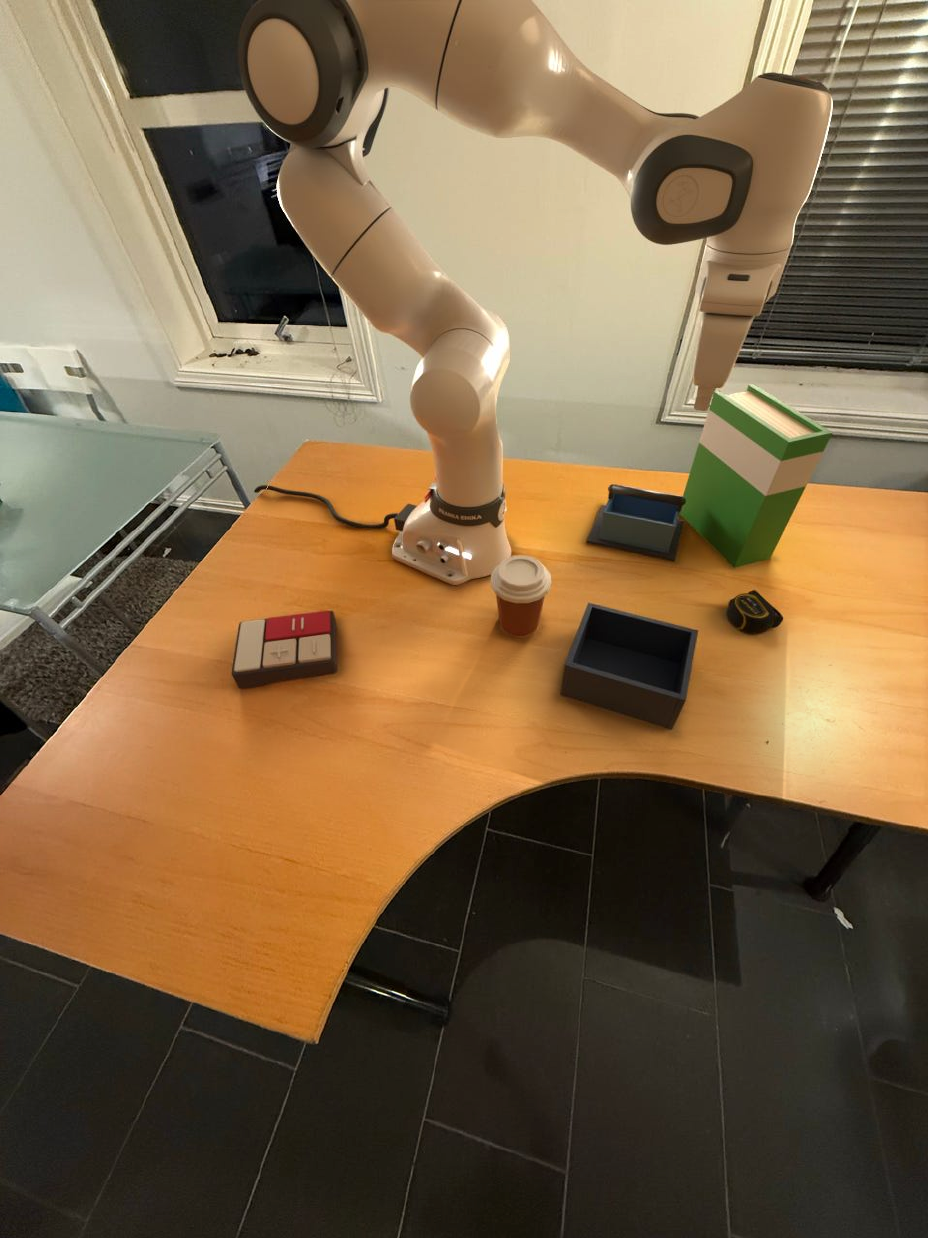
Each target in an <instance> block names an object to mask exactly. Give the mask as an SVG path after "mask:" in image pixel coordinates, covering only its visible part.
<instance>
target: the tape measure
mask: <svg viewBox="0 0 928 1238" xmlns="http://www.w3.org/2000/svg"><path fill="white" fill-rule="evenodd" d="M725 614H726V617H727V620H728V622H729V623H730V624H731V625H732V626H733V627H734V628H736V629H738V630H739V631H741V632H743V633H746V634H751V635H758V634H763V633H765V632H767V631H768V630H770V629H771V630H772V629H775V628H778V627H779V626H780V625H782V623H783V622H784V621H783V620H784V616H783V614H782V613H781V612H780V611H779V610H778V609H776V607H774V606H773V605H772V604H771V603H770V602H769V601H768V600H766V598H764V597H763V595H761V593H760V592H759V591H757V590H756V589H752V590H750V591H748V592H743V593H739V594H737V595H736V596H734V597H732V598H730V599H729V601H728V607H727V609H726V613H725Z"/></svg>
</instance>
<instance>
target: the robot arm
mask: <svg viewBox="0 0 928 1238" xmlns="http://www.w3.org/2000/svg"><path fill="white" fill-rule="evenodd" d="M237 58H238V68H239V73H240V77H241V81H242V86H243V88H244V91H245V94H246V96H247V98H248V100H249V102H250V104H251V106H252V108H253V110H254V111H255V112H256V114H257V116H258V117H259V119H260V120H261V121H262V122H263V124H264V125H265V126H266V127H267V128H268V129H269V130H270V131H271V132H272V133H274V134H275V135H276V136H278V137H279V138H280V139H282V140H283V141H285V142H287V143H289V144H290V145H289V149H288V151H289V152H288V154H287V155H286V157H284V160H283V162H282V164H281V166H280V169H279V173H278V178H277V183H276V190H277V191H276V192H277V193H276V194H277V198H278V201H279V205H280V207H281V209H282V211H283V212H284V214H285V216H286V218H287V219H288V221H289V222H290V224H291V226H292V227H293V229H294V230H295V231H296V233H297V235H298V236H299V238H300V239H301V241H302V242H303V243H304V245H305V247H306V248H307V249H308V251H309V252H310V254H311V255H312V256H313V257H314V259H315V260H316V261H317V262H318V264H319V265H320V267H321V268H322V269H323V270H324V271H325V272H326V274H327V275H328V276H329V277H330V278H331V280H332V281H333V282H334V283H335V284H336V285H337V286H338V289H340V290H341V291H342V293H344V295H345V296H346V297H347V298H348V300H349V301H350V302H351V303H352V304H353V305H354V306H355V308H356V309H357V310H358V311H359V312H360V313H361V314H362V316H363V317H364V318H365V319H366V320H367V321H368V322H369V324H370V325H371V326H372V327H373V328H374V329H376V330H377V332H380V333H382V334H386V335H390V336H392V337H394V338H397V339H398V340H399V341H401V342H402V343H404V344H405V345H407V346H408V347H410V348H411V349H412V350H413V351H415V352H416V353H417V354H418V355H419V356H420V357H422V358H421V360H420V361H419V363H418V364H417V366H416V368H415V372H414V375H413V378H412V382H411V387H410V394H409V404H410V410H411V412H412V415H413V417H414V419H415V421H416V422H417V423H418V425H419V427H421V428H422V429H423V430H424V431H425V432H426V434H427V436H428V440H429V442H430V446H431V449H432V450H431V451H432V456H433V463H434V473H435V477H434V482H432V483H431V484H430V486H429V487H428V491H427V492H426V493H425V495H424V497H423V499H424V501H422V502H420V503H419V504H418V505H417V504H411V503H407V504H406V505H405V506H404V507H403V508H402V509H401V511H399V512H392V513H388V514H386V515H385V516H384V518H383V522H381V523H376V524H367V523H360V522H356V521H353V520H350V519H347V518H344V517H342V516H340V515H339V513H337V511H336V509H335V508H334V506H333V504H332V503H331V502H330V501H329V499H327V498H325V497H324V496H323V495H320V494H316V493H312V492H307V491H300V490H292V489H291V490H290V489H286V488H285V489H284V488H281V487H277V486H274V485H269V484H261V485H258V486H257V487H255V489H254V490H253V492H254V493H256V494H257V493H260V492H261V491H263V490H264V491H265V490H267V491H272V492H275V493H280V494H284V495H288V496H297V497H298V496H299V497H305V498H311V499H316V500H318V501H320V502H322V503H323V504H324V505H326V507H327V509H328V511H329V513H330V514H331V516H332V517H333V518H334V519H335V520H337V521H338V522H340V523H342V524H345V525H347V526H350V527H353V528H358V529H375V530H376V529H378V530H381V529H385V528H386V527H388V526H389V524H390V520H392V519H393V522H394V525H395V526H394V527H395V531H399V533H398V535H397V536H396V538H395V540H394V542H393V544H392V548H391V551H392V558H393V559H394V560H395V561H397V562H399V563H401V564H404V565H406V566H408V567H411V568H413V569H415V570H418V571H420V572H421V573H424V574H426V575H429V576H431V577H433V578H435V579H438V580H440V581H442V582H444V583H447V584H449V585H451V586H459V585H462V584H464V583H466V582H468V581H470V580H474V579H479V578H484V577H488V576H491V574H492V573H493V571H494V569H495V568H496V567H497V566H498V565H500V563H501V562H502V561H503V560H505V559H506V558H508V557H512V547H511V544H510V542H509V539H508V535H507V529H506V524H505V523H506V522H505V517H506V512H507V500H506V499H507V498H506V486H505V483H504V445H503V440H502V439H501V438H500V433H499V428H498V421H497V401H498V396H499V391H500V387H501V384H502V382H503V379H504V377H505V375H506V372H507V370H508V367H509V364H510V359H511V343H510V335H509V331H508V328H507V326H506V324H505V322H504V321H503V320H502V318H501V317H500V316H499V315H497V314H496V313H495V312H494V311H491V310H490V309H487V308H484V307H482V306H481V305H480V304H478V302H477V301H476V300H475V299H474V298H473V297H471V296H470V295H469V294H468V293H467V292H466V291H465V290H464V289H462V287H460V285H458V284H457V283H456V282H455V281H454V280H453V279H452V278H451V277H449V275H447V273H445V271H444V270H442V269H441V267H440V266H439V265H438V264H437V263H436V262H435V261H434V260H433V258H432V257H431V256H430V254H429V253H428V252H427V251H426V249H425V248H424V246H423V245H422V244H421V243H420V242H419V240H418V239H417V237H416V236H415V235H414V233H413V232H412V231H411V230H410V228H409V227H408V225H407V224H406V223H405V222H404V220H403V219H402V218H401V216H400V215H399V214H398V213H397V211H396V210H395V208H394V207H393V206H392V204H391V203H390V202H389V201H388V200H387V198H386V197H385V195H384V194H383V193H382V192H381V190H380V189H379V187H377V185H376V183H375V182H374V181H373V179H372V177H371V176H370V174H369V172H368V170H367V168H366V165H365V161H364V158H365V157H367V156H368V155H369V154H370V152H371V149H372V147H373V145H374V141H375V138H376V135H377V132H378V129H379V126H380V123H381V121H382V119H383V116H384V114H385V113H384V112H385V110H386V107H387V104H388V99H389V94H390V88H397V89H400V90H403V91H405V92H408V93H409V94H411V95H413V96H415V97H416V98H418V99H419V100H421V101H423V103H425V104H427V105H429V106H430V107H432V108H433V109H435V110H436V111H438V112H439V113H440V114H443V115H444V116H445V117H447V118H449V119H451V120H452V121H453V122H456V123H458V124H460V125H462V126H463V127H466V128H469V129H471V130H473V131H475V132H478V133H481V134H484V135H487V136H489V137H493V138H496V139H512V138H522V137H537V138H545V139H548V140H549V139H550V140H552V141H556V142H558V143H560V144H562V145H564V146H566V147H567V148H569V149H571V150H573V151H574V152H576V153H577V154H579V155H581V156H582V157H584V158H586V159H587V160H589V161H590V162H592V163H594V164H595V165H597V166H598V167H600V168H602V169H603V170H605V171H606V172H608V173H609V174H611V175H613V176H614V177H615V178H617V179H618V181H619V182H620V183H621V184H622V186H623V187H624V189H625V190H626V193H627V194H628V196H629V201H630V212H631V216H632V221H633V223H634V225H635V227H636V229H637V230H638V232H639V233H640V234H641V236H642V237H644V238H645V239H646V240H648V241H650V242H652V243H654V244H657V245H662V246H671V245H678V244H683V243H689V242H694V241H699V240H703V239H706V242H705V247H704V251H703V255H702V260H701V262H700V267H699V272H698V276H697V280H696V284H695V291H696V293H697V295H698V298H699V302H698V312H700V313H701V316H700V317H701V318H700V326H699V332H698V339H697V342H696V343H697V344H696V350H695V355H694V356H695V357H694V362H693V370H692V384H693V385H694V386H697V390H696V397H695V400H694V405H693V409H694V410H696V411H701V412H707V411H709V408H710V404H711V401H712V398H713V394H714V392H715V391H716V389H721V388H723V387H724V386H725V385H726V383H727V382H728V379H729V377H730V376H731V373H732V371H733V369H734V366H735V365H736V362H737V360H738V357H739V355H740V352H741V350H742V347H743V346H744V342H745V340H746V339H747V335H748V334H749V331H750V329H751V327H752V324H753V321H754V319H755V317H759V316H760V315H762V312H763V310H764V307H765V305H766V303H767V302H768V301H769V300H770V298H772V297H774V296H775V295H776V293H777V290H778V288H779V284H780V281H781V278H782V275H783V272H784V269H785V266H786V264H787V261H788V257H789V256H790V255H789V254H790V251H791V248H792V246H793V242H794V236H795V228H796V227H795V226H796V222H797V219H798V216H799V214H800V211H801V210H802V208H803V206H804V205H805V203H806V201H807V200H808V197H809V195H810V193H811V190H812V187H813V184H814V181H815V178H816V175H817V171H818V168H819V166H820V162H821V157H822V154H823V151H824V147H825V145H826V140H827V137H828V133H829V127H830V123H831V119H832V112H833V97H832V95H831V92H830V90H829V89H828V87H827V86H826V85H825V84H823V83H822V82H821V81H818V80H814V79H810V78H806V77H802V76H796V75H792V74H786V73H779V72H776V71H775V72H774V71H773V72H764V73H762V74H759V75H757V76H755V77H754V79H753V80H752V81H751V82H750V83H749V84H748V85H747V86H745V87H744V88H743V89H742V90H740V91H739V92H738V93H736V94H735V95H733V96H732V97H730V98H729V99H728V100H726V101H725V102H724V103H721V104H719V106H717V107H715V108H713V109H711V110H710V111H708V112H706V113H705V114H703V115H701V116H698V115H697V114H693V113H685V112H671V113H669V112H668V113H667V112H663V113H662V112H656V111H653V110H651V109H649V108H646V107H645V106H643V105H642V104H640V103H639V102H637V101H636V100H635V99H633V98H632V97H630V96H628V95H626V94H625V93H624V92H622V91H621V90H619V89H618V88H616V87H615V86H613V85H612V84H610V83H609V82H607V81H606V80H604V79H603V78H602V77H600V76H598V75H597V74H596V73H594V72H593V71H592V70H590V69H589V68H588V67H587V66H586V65H585V64H584V63H583V62H582V61H581V60H580V59H579V58H578V57H577V55H575V53H574V52H573V51H572V50H571V49H570V47H569V46H568V45H567V43H566V42H565V41H564V39H563V38H562V36H561V35H560V34H559V32H558V31H557V29H556V28H555V27H554V26H553V24H552V23H551V22H550V20H549V19H548V18H547V17H546V16H545V14H544V13H543V12H542V11H541V9H540V8H539V7H538V6H537V4H536V3H535V2H534V1H533V0H257V1H256V2H255V3H254V4H253V5H252V6H251V7H250V8H249V11H248V12H247V13H246V15H245V17H244V19H243V21H242V24H241V27H240V30H239V36H238V44H237ZM268 485H269V486H268ZM267 486H268V488H267ZM266 488H267V489H266Z"/></svg>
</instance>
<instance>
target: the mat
mask: <svg viewBox="0 0 928 1238" xmlns="http://www.w3.org/2000/svg"><path fill="white" fill-rule="evenodd" d="M605 507H606V505H603V504H601V506H600V507H599V511H598V513H597V515H596V517H595V520H594V522H593V525H592V527H591V529H590V532H589V534H588V536H587V539H586V544H591V545H594V546H599V547H602V548H603V547H604V548H609V549H614V550H618V551H621V552H626V553H632V554H636V555H641V556H644V557H650V558H654V559H658V560H663V561H668V562H671V563H674V562H675V561H676V558H677V554H678V550H679V549H678V548H679V546H680V545H679V544H680V541H681V537H682V533H683V530H684V529H683V528H684V524H685V520H681V519H678V521H677V525H676V528H675V531H674V535H673V538H672V541H671V545H670V548H669V551H668V553H665V552H660V551H655V550H650V549H646V548H641V547H636V546H632V545H627V544H622V543H617V542H613V541H608V540H603V539H599V534H600V528H601V522H602V517H603V512H604V509H605Z"/></svg>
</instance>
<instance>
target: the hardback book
mask: <svg viewBox="0 0 928 1238" xmlns="http://www.w3.org/2000/svg"><path fill="white" fill-rule="evenodd" d="M833 434H834V432H833V431H831V429H828V428H827V427H825V426H823V425H822V424H820V423H819V422H817V421H815V420H813V419H812V418H810V417H809V416H807V415H805V414H803V413H802V412H800V411H799V410H797V409H796V408H794V407H792V406H790V405H789V404H788V403H786V402H784V401H782V400H781V399H779V398H778V397H776V396H774V395H773V394H771V393H770V392H768V391H766V390H764V389H763V388H761V387H760V386H758V385H756V384H755V383H750V384H748V385H747V389H746V390H745V391H744V390H743V391H740V392H735V393H730V394H725V393H723V392H722V391H720V390H715V392H714V394H713V396H712V399H711V402H710V405H709V408H708V410H707V414H706V418H705V421H704V425H703V428H702V430H701V434H700V437H699V441H698V444H697V447H696V451H695V454H694V458H693V461H692V465H691V468H690V471H689V474H688V478H687V481H686V484H685V488H684V491H683V495H682V496H683V497H684V498H685V499H686V503H685V504H684V505H683V506H682V509H681V512H680V513H679V515H681V517H682V518H683V519H684V520H686V522H687V523H688V524H689V525H690V526H691V527H692V528H693V529H694V530H695V531H696V532H697V533H698V534H699V535H700V536H701V537H702V538H703V539H704V540H705V541H706V542H707V543H708V544H709V545H710V546H711V547H712V548H713V549H714V550H715V551H716V552H717V553H718V554H719V555H720V556H721V557H722V558H723V559H724V560H725V561H726V562H727V563H728V564H729V565H730V566H731V567H732V568H733V569H737V568H740V567H744V566H748V565H752V564H756V563H758V562H762V561H767V560H770V559H771V558H772V557H773V554H774V552H775V550H776V549H777V546H778V544H779V542H780V540H781V537H782V535H783V534H784V532H785V530H786V528H787V526H788V524H789V522H790V520H791V518H792V516H793V514H794V512H795V510H796V507H797V505H798V504H799V502H800V500H801V498H802V496H803V494H804V491H805V489H806V488H807V486H808V484H809V481H810V479H812V475H813V474H814V471H815V470H816V467H817V465H818V463H819V461H820V460H821V457H822V456H823V454H824V451H825V450H826V448H827V446H828V443H829V441H830V439H831V437H832V435H833Z"/></svg>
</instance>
